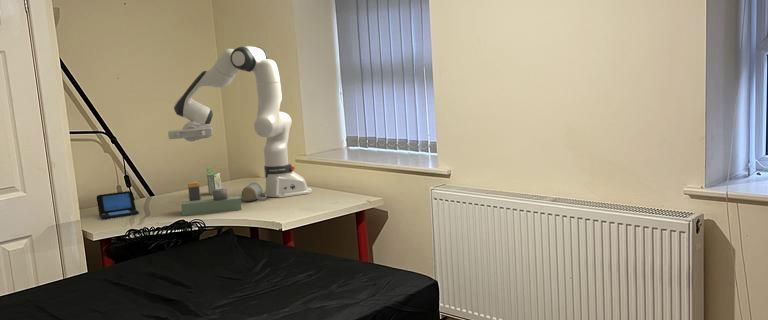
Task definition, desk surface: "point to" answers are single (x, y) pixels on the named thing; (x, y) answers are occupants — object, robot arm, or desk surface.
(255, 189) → the ceramic mug
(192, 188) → the dark grey tall block
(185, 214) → the green platform block
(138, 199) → the desk surface
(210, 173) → the ink box
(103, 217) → the handheld game console
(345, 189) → the desk surface
